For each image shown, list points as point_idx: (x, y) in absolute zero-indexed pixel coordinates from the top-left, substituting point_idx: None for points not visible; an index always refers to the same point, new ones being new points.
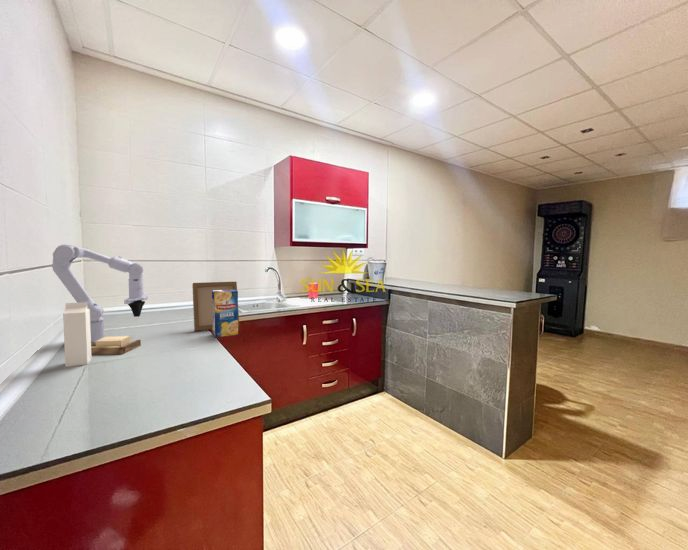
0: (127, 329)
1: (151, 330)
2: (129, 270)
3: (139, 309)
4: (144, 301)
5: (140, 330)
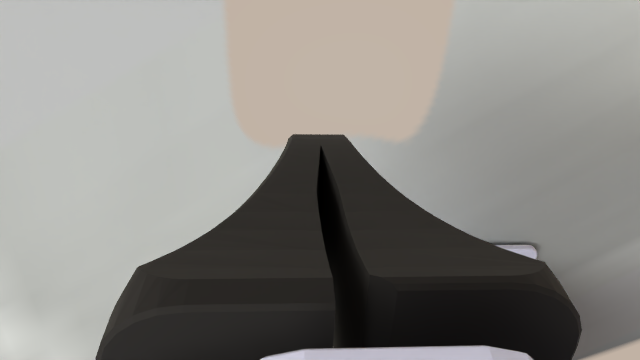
0: (71, 277)
1: (47, 18)
2: None
3: (367, 194)
4: (198, 304)
5: (79, 145)
